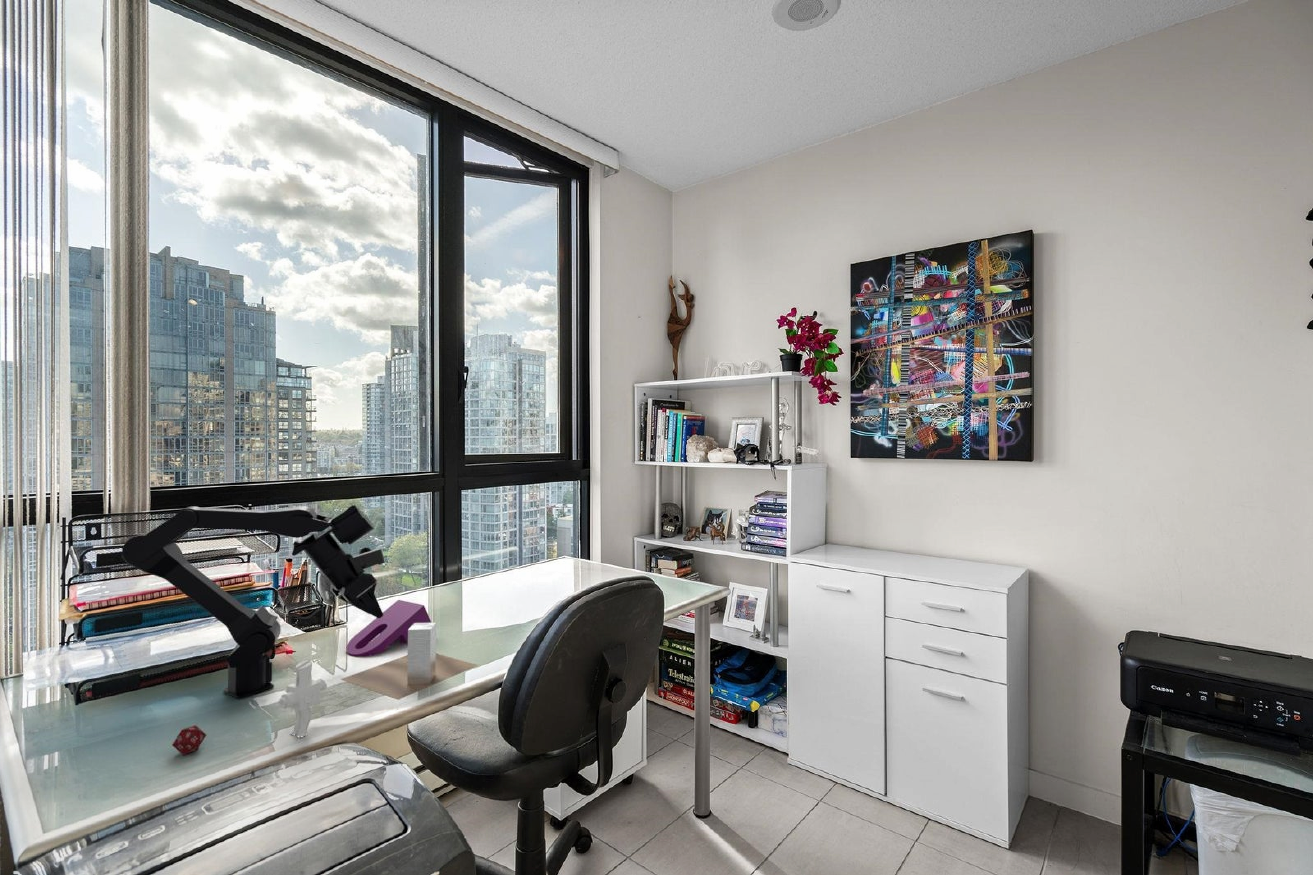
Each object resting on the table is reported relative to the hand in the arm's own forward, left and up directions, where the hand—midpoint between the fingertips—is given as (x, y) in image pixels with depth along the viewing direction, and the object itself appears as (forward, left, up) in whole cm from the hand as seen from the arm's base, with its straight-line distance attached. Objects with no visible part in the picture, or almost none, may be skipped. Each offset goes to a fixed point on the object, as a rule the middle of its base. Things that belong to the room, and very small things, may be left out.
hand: (376, 614), depth 128 cm
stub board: (+3, -8, -13) cm, 15 cm away
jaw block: (+1, -13, -11) cm, 18 cm away
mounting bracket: (+11, +11, -13) cm, 20 cm away
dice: (-35, -3, -13) cm, 38 cm away
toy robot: (-22, -12, -13) cm, 29 cm away
